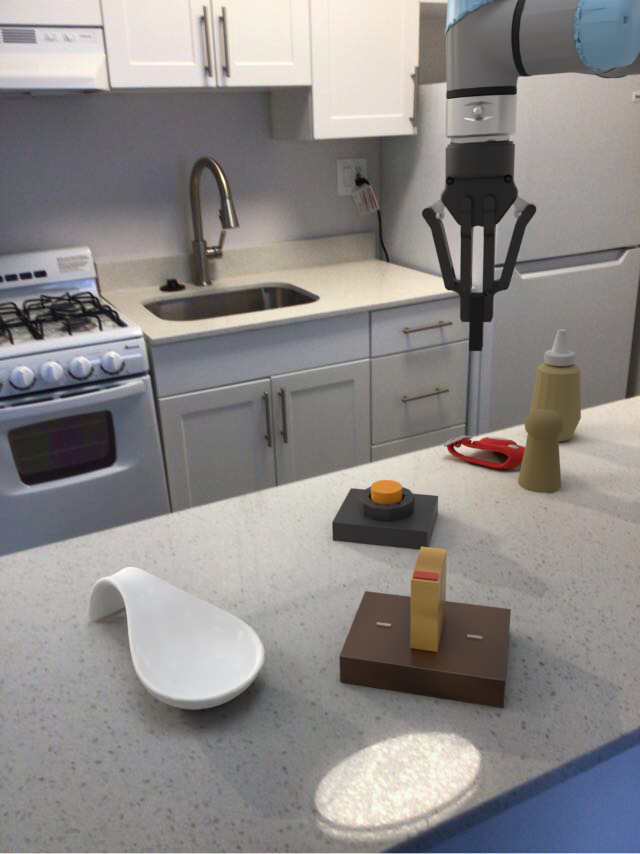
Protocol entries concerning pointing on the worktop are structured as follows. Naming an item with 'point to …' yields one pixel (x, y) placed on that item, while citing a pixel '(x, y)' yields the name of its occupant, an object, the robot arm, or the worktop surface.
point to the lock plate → (427, 670)
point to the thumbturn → (428, 598)
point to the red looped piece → (489, 444)
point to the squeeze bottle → (559, 385)
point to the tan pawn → (541, 452)
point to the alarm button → (386, 492)
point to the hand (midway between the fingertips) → (476, 347)
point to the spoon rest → (180, 640)
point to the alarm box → (386, 520)
